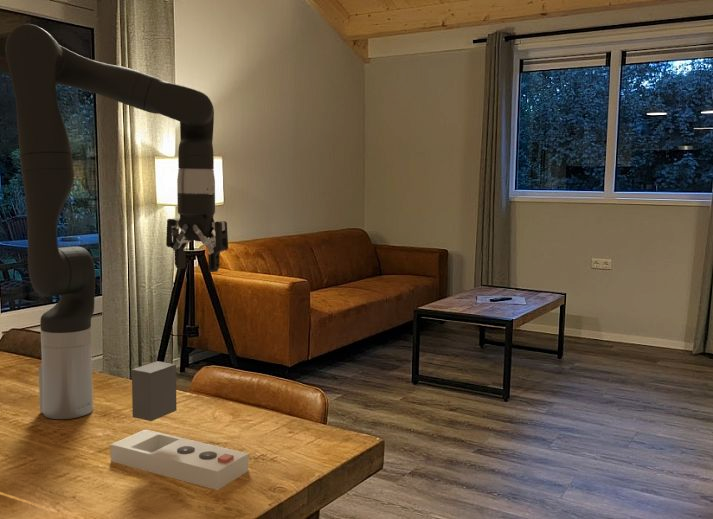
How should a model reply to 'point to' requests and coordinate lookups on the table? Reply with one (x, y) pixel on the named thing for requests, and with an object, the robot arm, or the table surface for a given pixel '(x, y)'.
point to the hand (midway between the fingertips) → (196, 270)
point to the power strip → (180, 458)
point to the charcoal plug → (154, 390)
